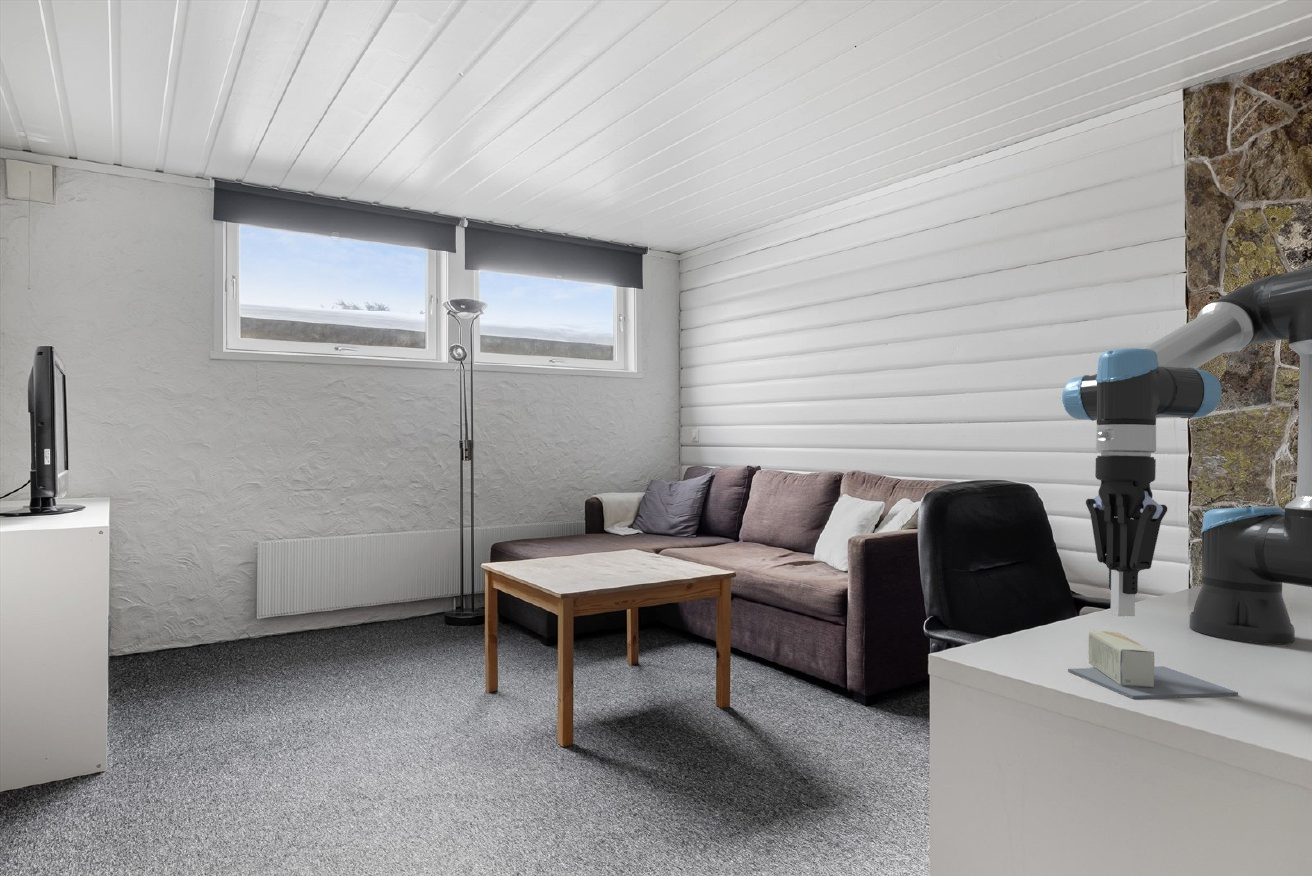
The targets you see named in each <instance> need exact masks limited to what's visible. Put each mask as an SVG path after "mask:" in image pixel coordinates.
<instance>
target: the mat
mask: <svg viewBox="0 0 1312 876" xmlns="http://www.w3.org/2000/svg"><path fill="white" fill-rule="evenodd" d="M1067 672H1068V673H1070V674H1073V675H1076V676H1078V677H1080V678H1083V679H1085V680H1087V681H1090V682H1092V683H1094V684H1097V685H1099V686H1101V687H1104V688H1106V689H1108V690H1111V691H1114V692H1116V693H1118V694H1121V695H1123V696H1126V697H1127V698H1130V699H1133V700H1134V699H1135V700H1136V699H1139V700H1140V699H1164V698H1165V699H1167V698H1196V697H1197V698H1199V697H1225V696H1226V697H1227V696H1228V697H1229V696H1239V692H1238V691H1236V690H1233V689H1231V688H1226V687H1223V686H1222V685H1218V684H1215V683H1212V682H1210V681H1206V680H1205V679H1201V678H1199V677H1196V676H1192V675H1189V674H1187V673H1183V672H1181V671H1178V670H1175V669H1172V668H1170V667H1167V666H1163V665H1161V666H1158V665H1157V666H1154V687H1131V686H1121V685H1119V684H1118V683H1116V682H1115V681H1114V680H1112V679H1111V678H1109V677H1108V676H1106V675H1105V674H1104V673H1102V672H1101V671H1099V670H1098V669H1096V668H1095V667H1086V668H1084V667H1083V668H1079V667H1078V668H1067Z"/></svg>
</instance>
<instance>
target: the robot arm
mask: <svg viewBox="0 0 1312 876" xmlns="http://www.w3.org/2000/svg"><path fill="white" fill-rule="evenodd" d="M1283 340H1288V347H1289V349H1290V350H1292V351H1293V352H1295V354H1297V355H1298V356H1299V380H1298V383H1299V384H1298V387H1299V388H1298V421H1297V422H1298V426H1297V428H1298V429H1297V462H1296V463H1297V468H1296V470H1297V471H1296V474H1297V475H1296V496H1295V497H1294V499H1292V500H1291V501H1289V502H1288V503H1287V504H1285V505H1284V509H1283V508H1282V507H1281V506H1259V507H1257V506H1256V507H1255V506H1254V507H1253V506H1251V507H1227V508H1213V509H1209V510H1208V511H1206V512H1205V513H1204V515H1203V517H1202V518H1203V519H1202V528H1201V531H1200V534H1201V588H1200V591H1199V593H1198V595H1197V598H1196V601H1195V604H1194V607H1193V611H1191V612H1190V614H1189V625H1188V626H1189V628H1190V629H1191V630H1193V631H1195V632H1198V633H1200V634H1204V635H1208V636H1212V637H1217V638H1222V639H1228V640H1233V641H1239V642H1245V643H1255V644H1270V645H1272V644H1273V645H1283V644H1285V645H1286V644H1292V643H1294V642H1295V637H1296V636H1295V635H1296V633H1295V632H1296V631H1295V627H1294V625H1293V624H1292V622H1291V619H1290V616H1289V612H1288V608H1287V606H1286V603H1285V600H1284V598H1283V597H1284V595H1283V584H1286V585H1287V584H1288V585H1294V586H1300V587H1307V588H1312V267H1308V268H1302V269H1300V270H1299V269H1298V270H1294V271H1288V272H1284V273H1276V274H1271V275H1268V276H1266V277H1261V278H1259V279H1257V280H1254V281H1251V282H1249V283H1247V284H1245V285H1243V286H1241V287H1239V288H1237V289H1235V290H1233V291H1230V292H1229V293H1226V294H1225V295H1224V296H1222V297H1220V298H1218V299H1217V300H1216V299H1215V300H1214V301H1212V302H1211V303H1209V304H1207V305H1205V306H1204V307H1203V308H1201V309H1200V311H1199V312H1198V313H1197V315H1196V318H1195V319H1192V320H1191V321H1189V322H1187V323H1185V324H1184V325H1182V326H1180V327H1179V328H1177V329H1175V330H1172V331H1171V332H1169V333H1168V334H1166V335H1164V336H1162V337H1161V338H1159V339H1157V340H1155V341H1153V342H1152V343H1149V344H1148V345H1147V346H1145V347H1143V348H1140V347H1139V348H1138V347H1137V348H1135V347H1134V348H1118V349H1111V350H1107V351H1103V353H1101V354H1100V355H1099V357H1098V362H1097V363H1098V364H1097V371H1096V373H1095V374H1093V375H1089V374H1087V375H1086V374H1084V375H1082V376H1077V377H1074V378H1072V379H1070V380H1068V382H1067V383H1066V384H1065V386H1064V387H1063V391H1062V395H1061V396H1062V397H1061V401H1062V404H1063V407H1064V410H1065V412H1066V413H1067V414H1068V415H1069V416H1070V417H1072V418H1073V419H1075V420H1076V419H1077V420H1088V421H1092V422H1093V421H1096V436H1095V437H1096V440H1095V441H1096V443H1095V447H1096V448H1095V449H1096V451H1097V452H1099V453H1100V455H1097V457H1095V474H1094V475H1095V478H1096V480H1098V481H1100V486H1099V489H1098V495H1096V496H1095V497H1094V498H1087V499H1086V500H1085V505H1086V507H1087V510H1088V512H1089V514H1090V520H1091V527H1092V532H1093V540H1094V545H1095V551H1096V557H1097V561H1098V562H1099V563H1100V564H1101V563H1103V564H1104V565H1106V567H1107V568H1108V588H1109V591H1110V614H1111V615H1113V616H1116V617H1135V615H1136V614H1135V613H1136V610H1135V609H1136V608H1135V607H1136V595H1137V594H1138V589H1139V588H1138V587H1139V586H1138V585H1139V583H1138V581H1139V580H1138V579H1139V573H1140V572H1141V571H1144V570H1150V569H1151V568H1152V563H1153V559H1154V555H1155V551H1156V547H1157V546H1156V545H1157V542H1158V541H1157V540H1158V537H1159V532H1160V528H1161V525H1162V524H1161V523H1162V520H1163V518H1164V517H1165V516H1166V513H1167V512H1168V507H1167V505H1166V504H1159V503H1158V502H1157V501H1156V500H1154V499H1153V496H1154V495H1153V491H1152V490H1151V485H1150V484H1151V483H1152V482H1155V481H1156V472H1157V471H1156V470H1157V468H1156V466H1157V465H1156V462H1157V459H1155V457H1154V456H1152V454H1153V453H1155V452H1157V426H1156V425H1157V418H1181V419H1193V418H1195V419H1196V418H1202V417H1206V416H1207V415H1209V414H1212V413H1213V412H1214V410H1216V409H1217V407H1218V406H1219V404H1220V401H1221V399H1222V393H1223V392H1222V386H1221V383H1220V380H1219V379H1218V378H1217V377H1216V376H1215V375H1214V374H1213V373H1212V372H1209V371H1207V370H1205V369H1198V368H1199V367H1201V366H1203V365H1204V364H1207V363H1208V362H1210V361H1211V360H1213V359H1215V358H1216V357H1218V356H1220V355H1222V354H1224V353H1234V352H1237V351H1239V350H1240V351H1241V350H1242V349H1244V348H1245V347H1248V346H1250V345H1253V344H1254V345H1256V344H1260V343H1265V342H1274V341H1283Z"/></svg>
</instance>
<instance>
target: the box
mask: <svg viewBox="0 0 1312 876" xmlns="http://www.w3.org/2000/svg"><path fill="white" fill-rule="evenodd" d="M1087 655H1088V664H1089V665H1091V666H1092V667H1093V668H1096V669H1098V670H1099V671H1101V672H1102V673H1104V674H1105V675H1106V676H1108V677H1109V678H1111V679H1112V680H1114V681H1115V682H1116V683H1118V684H1119V685H1121V686H1131V687H1154V667H1155V652H1154V651H1153V650H1151V649H1149V648H1148V647H1145V646H1144V645H1142V644H1140V643H1138V642H1137V641H1135V640H1133V639H1131V638H1129V637H1128V636H1126V635H1123V633H1120V632H1117V631H1116V632H1115V631H1103V630H1089V631H1088V654H1087Z"/></svg>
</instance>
